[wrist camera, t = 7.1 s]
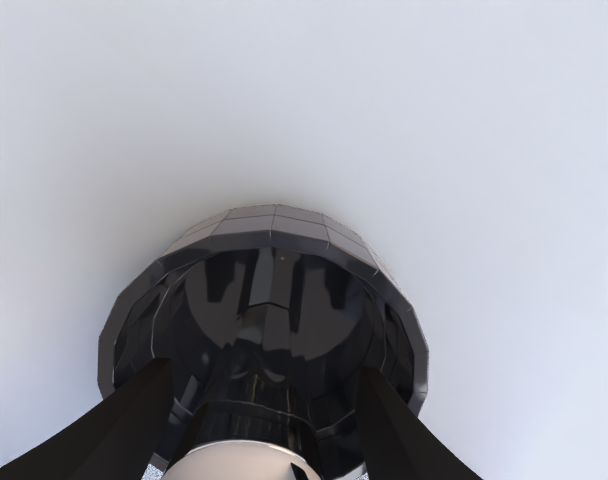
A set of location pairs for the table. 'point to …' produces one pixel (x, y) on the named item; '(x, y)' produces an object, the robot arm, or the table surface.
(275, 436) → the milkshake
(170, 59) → the table surface
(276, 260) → the bowl
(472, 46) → the table surface
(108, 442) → the robot arm
